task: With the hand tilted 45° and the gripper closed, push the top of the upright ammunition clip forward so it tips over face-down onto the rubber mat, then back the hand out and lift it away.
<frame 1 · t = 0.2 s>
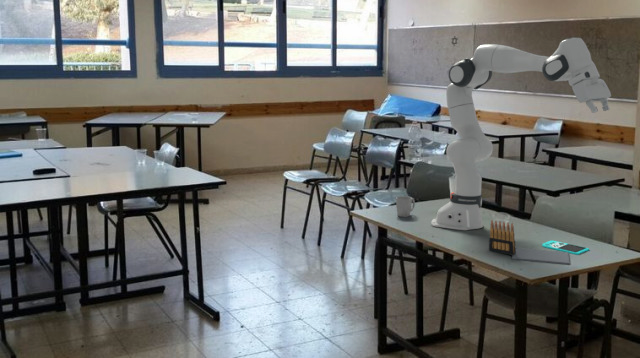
hand: (601, 111, 248), 54 cm above the table, tool tilted 30°, fingers open, 8 cm apart
cup: (405, 215, 316), on the table
rubber mat: (540, 256, 253), on the table
handheld game console: (564, 249, 264), on the table
ammunition clip: (502, 252, 257), on the table, touching rubber mat
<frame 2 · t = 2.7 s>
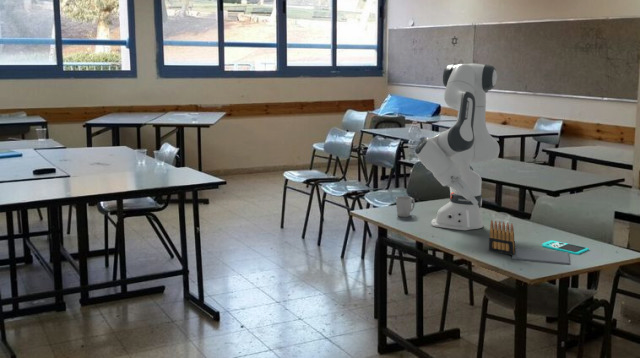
hand: (473, 201, 253), 20 cm above the table, tool tilted 45°, fingers open, 8 cm apart
nothing on the table moved.
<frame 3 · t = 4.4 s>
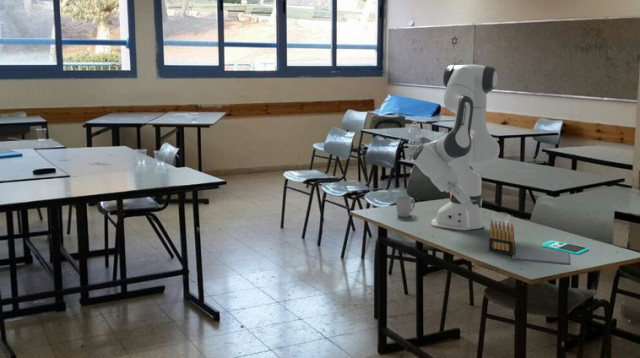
hand: (472, 206, 254), 18 cm above the table, tool tilted 45°, fingers closed
nothing on the table moved.
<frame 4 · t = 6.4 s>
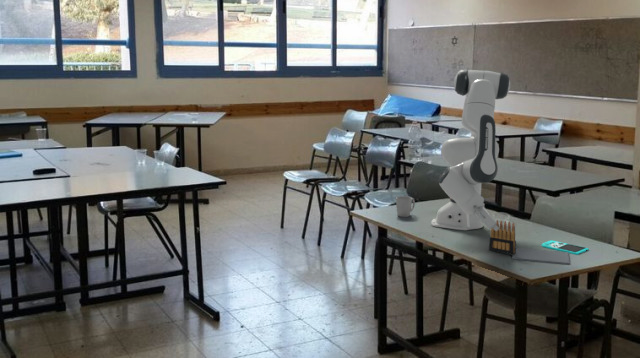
hand: (497, 229, 256), 9 cm above the table, tool tilted 45°, fingers closed
ammunition clip: (502, 252, 257), on the table, touching gripper, rubber mat
everything else where it was.
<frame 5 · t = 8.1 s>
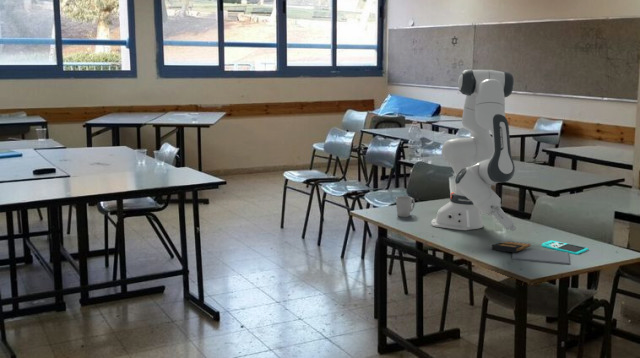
hand: (513, 229, 255), 9 cm above the table, tool tilted 45°, fingers closed
ammunition clip: (503, 248, 257), point 2 cm above the table, touching rubber mat
everything else where it was.
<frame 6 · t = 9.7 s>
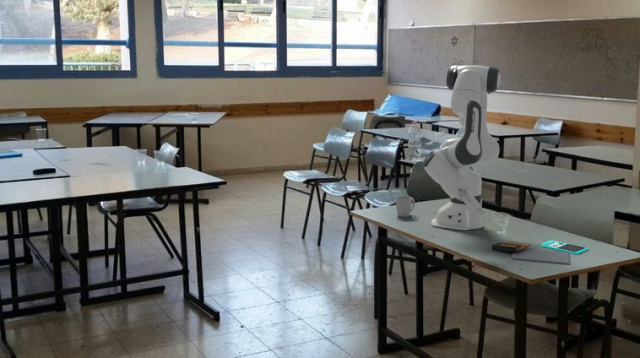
hand: (482, 212, 255), 15 cm above the table, tool tilted 45°, fingers closed
nothing on the table moved.
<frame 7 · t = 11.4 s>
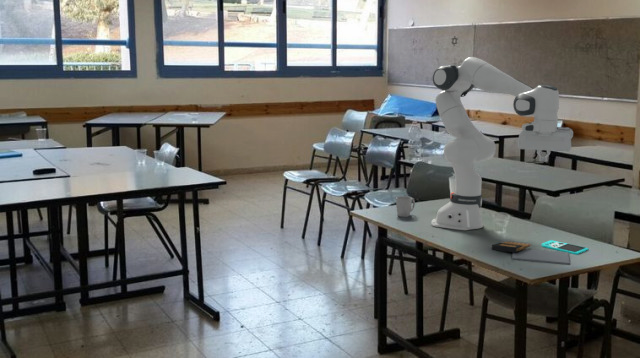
hand: (542, 161, 267), 33 cm above the table, tool pointing down, fingers closed
nothing on the table moved.
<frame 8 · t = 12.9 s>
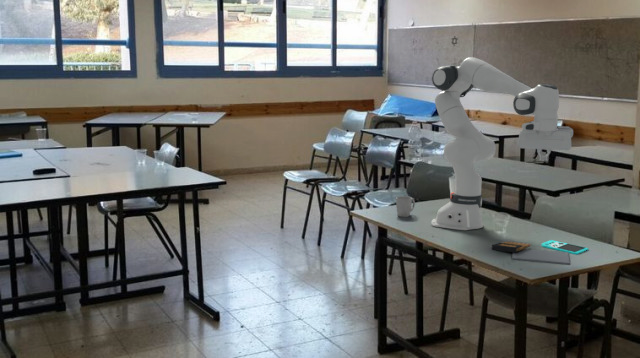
hand: (543, 160, 268), 33 cm above the table, tool pointing down, fingers closed
nothing on the table moved.
at the end: ammunition clip tilted 91°; ammunition clip touching rubber mat, table; the gripper is holding nothing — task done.
